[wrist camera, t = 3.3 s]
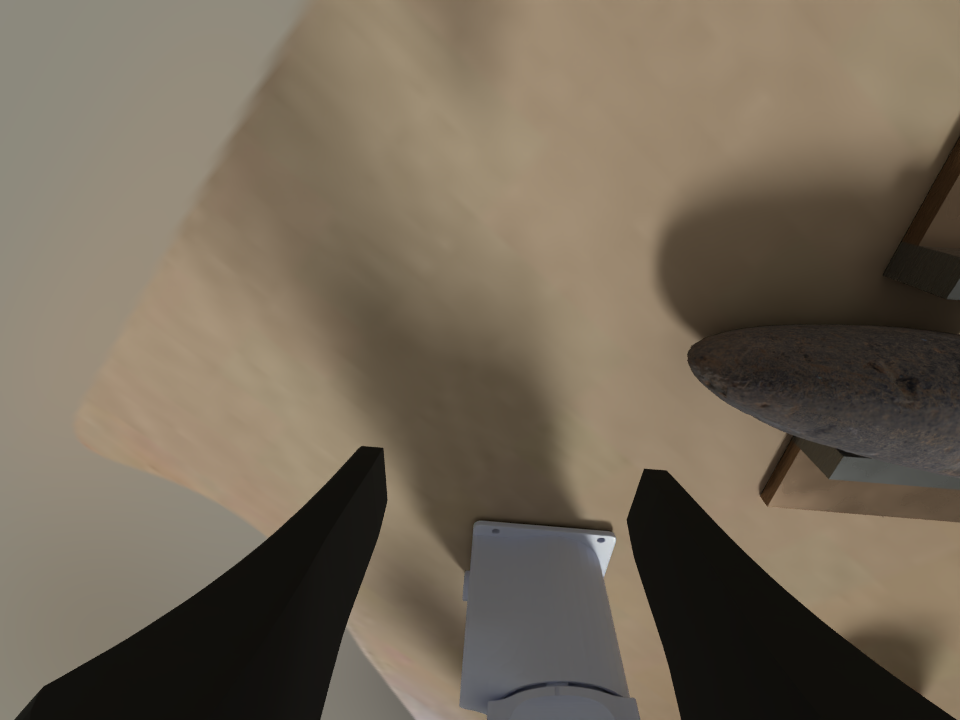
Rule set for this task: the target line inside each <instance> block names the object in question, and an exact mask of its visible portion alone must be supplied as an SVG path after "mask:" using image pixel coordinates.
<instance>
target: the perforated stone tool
mask: <svg viewBox="0 0 960 720" xmlns="http://www.w3.org/2000/svg"><path fill="white" fill-rule="evenodd" d="M690 348H691V349H690V350H689V352H688V354H687V355H688V356H687V357H688V360H687V361H688V364H689V366H690V368H691V370H692V372H693V374H694V375H695V376H696V377H697V379H698V380H699V381H700V382H701V383H702V384H703V385H704V386H705V387H707V388H708V389H709V390H710V391H711V392H713V393H714V394H715V395H716V396H718V397H719V398H720V399H722V400H723V401H725V402H726V403H727V404H729V405H731V406H733V407H735V408H737V409H739V410H740V411H742V412H744V413H746V414H749V415H751V416H753V417H755V418H757V419H758V420H760V421H762V422H764V423H766V424H768V425H770V426H772V427H774V428H777V429H779V430H781V431H783V432H786V433H788V434H791V435H794V436H797V437H800V438H802V439H805V440H809V441H812V442H815V443H818V444H822V445H826V446H830V447H834V448H838V449H841V450H843V451H846V452H850V453H853V454H856V455H860V456H864V457H868V458H872V459H876V460H880V461H883V462H887V463H892V464H896V465H900V466H904V467H908V468H913V469H918V470H922V471H927V472H931V473H935V474H939V475H944V476H950V477H957V478H960V335H959V334H952V333H944V332H937V331H929V330H919V329H910V328H901V327H885V326H867V325H772V326H760V327H752V328H744V329H737V330H732V331H728V332H724V333H720V334H716V335H713V336H710V337H707V338H704V339H702V340H701V341H699V342H697V343H695V344H694V345H693V346H692V347H690Z"/></svg>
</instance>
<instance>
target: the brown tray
mask: <svg viewBox="0 0 960 720" xmlns="http://www.w3.org/2000/svg"><path fill="white" fill-rule="evenodd" d="M883 276H886V277H889V278H891V279H894V280H897V281H899V282H902V283H905V284H907V285H910V286H913V287H915V288H918V289H921V290H924V291H926V292H929V293H932V294H934V295H937V296H940V297H942V298H945V299H953V300H960V137H959V139H958V141H957V143H956V145H955V146H954V148H953V150H952V152H951V154H950V155H949V157H948V159H947V161H946V163H945V164H944V166H943V168H942V170H941V172H940V173H939V175H938V177H937V179H936V181H935V182H934V184H933V186H932V188H931V190H930V191H929V193H928V195H927V197H926V199H925V200H924V202H923V204H922V206H921V208H920V209H919V211H918V213H917V215H916V217H915V218H914V220H913V222H912V224H911V226H910V227H909V229H908V231H907V233H906V235H905V236H904V238H903V240H902V242H901V244H900V245H899V247H898V249H897V251H896V253H895V254H894V256H893V258H892V260H891V262H890V263H889V265H888V267H887V269H886V271H885V272H884V274H883ZM760 497H761V498H762V500H763V501H764V502H765V504H766V505H767V507H778V508H790V509H803V510H815V511H827V512H839V513H852V514H864V515H876V516H888V517H901V518H913V519H925V520H938V521H950V522H960V478H957V477H950V476H944V475H939V474H935V473H931V472H927V471H922V470H918V469H913V468H908V467H904V466H900V465H896V464H892V463H887V462H883V461H880V460H876V459H872V458H868V457H864V456H860V455H856V454H853V453H850V452H846V451H843V450H841V449H838V448H834V447H830V446H826V445H822V444H818V443H815V442H812V441H809V440H805V439H802V438H800V437H797V436H793V438H792V440H791V442H790V443H789V445H788V447H787V449H786V451H785V452H784V454H783V456H782V458H781V460H780V461H779V463H778V465H777V467H776V469H775V470H774V472H773V474H772V476H771V478H770V479H769V481H768V483H767V485H766V487H765V488H764V490H763V492H762V494H761V496H760Z"/></svg>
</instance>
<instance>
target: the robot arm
mask: <svg viewBox="0 0 960 720" xmlns="http://www.w3.org/2000/svg"><path fill="white" fill-rule="evenodd" d="M386 504H387V488H386V475H385V462H384V450H383V448H379V447H366V446H361V447H360V448H359V449H358V450H357V451H356V452H355V453H354V454H353V455H352V456H351V457H350V458H349V460H348V461H347V462H346V463H345V464H344V465H343V466H342V467H341V468H340V469H339V470H338V472H337V473H336V474H335V475H334V476H333V477H332V478H331V479H330V480H329V481H328V482H327V483H326V484H325V485H324V486H323V487H322V488H321V489H320V490H319V491H318V492H317V493H316V494H315V495H314V496H313V497H312V498H311V499H310V500H309V501H308V502H307V503H306V504H305V505H304V506H303V507H302V508H301V509H300V510H299V511H298V512H297V513H296V514H295V515H294V516H292V517H291V518H290V519H289V520H288V521H287V522H286V523H285V524H284V525H283V526H282V527H280V528H279V529H278V530H277V531H276V532H275V533H274V534H273V535H271V536H270V537H269V538H268V539H267V540H266V541H264V542H263V543H262V544H261V545H260V546H258V547H257V548H256V549H255V550H254V551H252V552H251V553H250V554H249V555H247V556H246V557H245V558H244V559H242V560H241V561H240V562H239V563H237V564H236V565H235V566H233V567H232V568H231V569H229V570H228V571H227V572H225V573H224V574H223V575H221V576H220V577H219V578H217V579H216V580H215V581H213V582H212V583H211V584H209V585H208V586H206V587H205V588H204V589H202V590H201V591H199V592H198V593H197V594H195V595H194V596H192V597H191V598H189V599H188V600H186V601H185V602H183V603H182V604H181V605H179V606H178V607H176V608H174V609H173V610H171V611H170V612H168V613H167V614H165V615H164V616H162V617H161V618H159V619H157V620H156V621H154V622H153V623H151V624H150V625H148V626H147V627H145V628H144V629H142V630H140V631H139V632H137V633H136V634H134V635H132V636H131V637H129V638H128V639H126V640H124V641H123V642H121V643H119V644H118V645H116V646H114V647H113V648H111V649H109V650H108V651H106V652H104V653H102V654H100V655H99V656H97V657H95V658H93V659H92V660H90V661H88V662H86V663H85V664H83V665H81V666H79V667H78V668H76V669H74V670H72V671H71V672H69V673H67V674H65V675H64V676H62V677H60V678H58V679H56V680H55V681H53V682H51V683H49V684H47V685H45V686H44V687H43V688H42V689H41V690H40V691H39V692H38V693H37V694H36V696H35V697H34V698H33V699H32V700H31V701H30V702H29V704H28V705H27V706H26V707H25V708H24V709H23V710H22V711H21V713H20V714H19V715H18V716H17V717H16V719H15V720H320V718H321V715H322V710H323V707H324V703H325V699H326V696H327V692H328V688H329V684H330V680H331V676H332V673H333V669H334V666H335V662H336V658H337V654H338V651H339V647H340V643H341V640H342V637H343V633H344V630H345V627H346V624H347V621H348V618H349V616H350V613H351V610H352V607H353V605H354V602H355V599H356V597H357V594H358V591H359V588H360V586H361V583H362V580H363V578H364V575H365V572H366V569H367V567H368V564H369V561H370V559H371V556H372V553H373V550H374V548H375V545H376V542H377V539H378V536H379V533H380V529H381V525H382V521H383V517H384V513H385V508H386ZM627 524H628V530H629V535H630V541H631V545H632V550H633V555H634V559H635V562H636V565H637V568H638V571H639V575H640V578H641V581H642V584H643V587H644V590H645V593H646V596H647V599H648V602H649V605H650V608H651V611H652V614H653V617H654V620H655V623H656V626H657V629H658V632H659V636H660V639H661V642H662V645H663V648H664V651H665V655H666V658H667V662H668V665H669V669H670V673H671V678H672V682H673V686H674V690H675V695H676V699H677V703H678V707H679V712H680V716H681V720H956V719H955V718H953V717H952V716H950V715H949V714H948V713H946V712H945V711H943V710H942V709H940V708H939V707H937V706H936V705H935V704H933V703H932V702H930V701H929V700H927V699H926V698H925V697H923V696H922V695H920V694H919V693H917V692H916V691H914V690H913V689H912V688H910V687H909V686H907V685H906V684H904V683H903V682H902V681H900V680H899V679H898V678H896V677H895V676H893V675H892V674H891V673H889V672H888V671H887V670H885V669H884V668H882V667H881V666H880V665H878V664H877V663H876V662H874V661H873V660H872V659H870V658H869V657H868V656H866V655H865V654H864V653H862V652H861V651H860V650H859V649H857V648H856V647H855V646H853V645H852V644H851V643H849V642H848V641H847V640H846V639H844V638H843V637H842V636H840V635H839V634H838V633H836V632H835V631H834V630H833V629H831V628H830V627H829V626H828V625H826V624H825V623H824V622H823V621H821V620H820V619H819V618H818V617H817V616H815V615H814V614H813V613H812V612H811V611H810V610H808V609H807V608H806V607H805V606H804V605H802V604H801V603H800V602H799V601H798V600H797V599H795V598H794V597H793V596H792V595H791V594H790V593H788V592H787V591H786V590H785V589H784V588H783V587H782V586H780V585H779V584H778V583H777V582H776V581H775V580H774V579H773V578H772V577H770V576H769V575H768V574H767V573H766V572H765V571H764V570H763V569H762V568H761V567H760V566H759V565H758V564H757V563H756V562H755V561H753V560H752V559H751V558H750V557H749V556H748V555H747V554H746V553H745V552H744V551H743V550H742V549H741V548H740V547H739V546H738V545H737V544H736V543H735V542H734V541H733V540H732V539H731V538H730V537H729V536H728V535H727V534H726V533H725V532H724V531H723V530H722V529H721V528H720V527H719V526H718V525H717V524H716V523H715V522H714V520H713V519H712V518H711V517H710V516H709V515H708V514H707V513H706V512H705V511H704V510H703V509H702V508H701V507H700V506H699V505H698V503H697V502H696V501H695V500H694V499H693V498H692V497H691V496H690V495H689V494H688V493H687V492H686V491H685V489H684V488H683V487H682V486H681V485H680V484H679V483H678V482H677V481H676V480H675V479H674V478H673V477H672V476H671V475H670V474H669V473H668V471H666V470H653V469H644V471H643V473H642V476H641V479H640V482H639V485H638V488H637V491H636V494H635V497H634V500H633V503H632V506H631V509H630V511H629V514H628V517H627ZM615 543H616V537H615V534H614V533H613V532H610V531H600V530H588V529H576V528H564V527H552V526H540V525H528V524H516V523H504V522H492V521H477V522H475V523H474V526H473V539H472V552H471V564H470V571H467V570H466V571H465V575H464V587H463V601H467V614H466V626H465V639H464V652H463V665H462V678H461V691H460V707H461V708H464V709H468V710H473V711H477V712H480V713H483V714H486V715H487V720H640V716H639V711H638V707H637V703H636V699H635V698H630V695H629V691H628V686H627V682H626V677H625V673H624V668H623V664H622V659H621V655H620V650H619V646H618V641H617V637H616V632H615V628H614V623H613V619H612V614H611V610H610V605H609V601H608V596H607V592H606V587H605V583H604V575H605V572H606V569H607V566H608V563H609V560H610V557H611V554H612V552H613V549H614V546H615Z"/></svg>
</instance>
